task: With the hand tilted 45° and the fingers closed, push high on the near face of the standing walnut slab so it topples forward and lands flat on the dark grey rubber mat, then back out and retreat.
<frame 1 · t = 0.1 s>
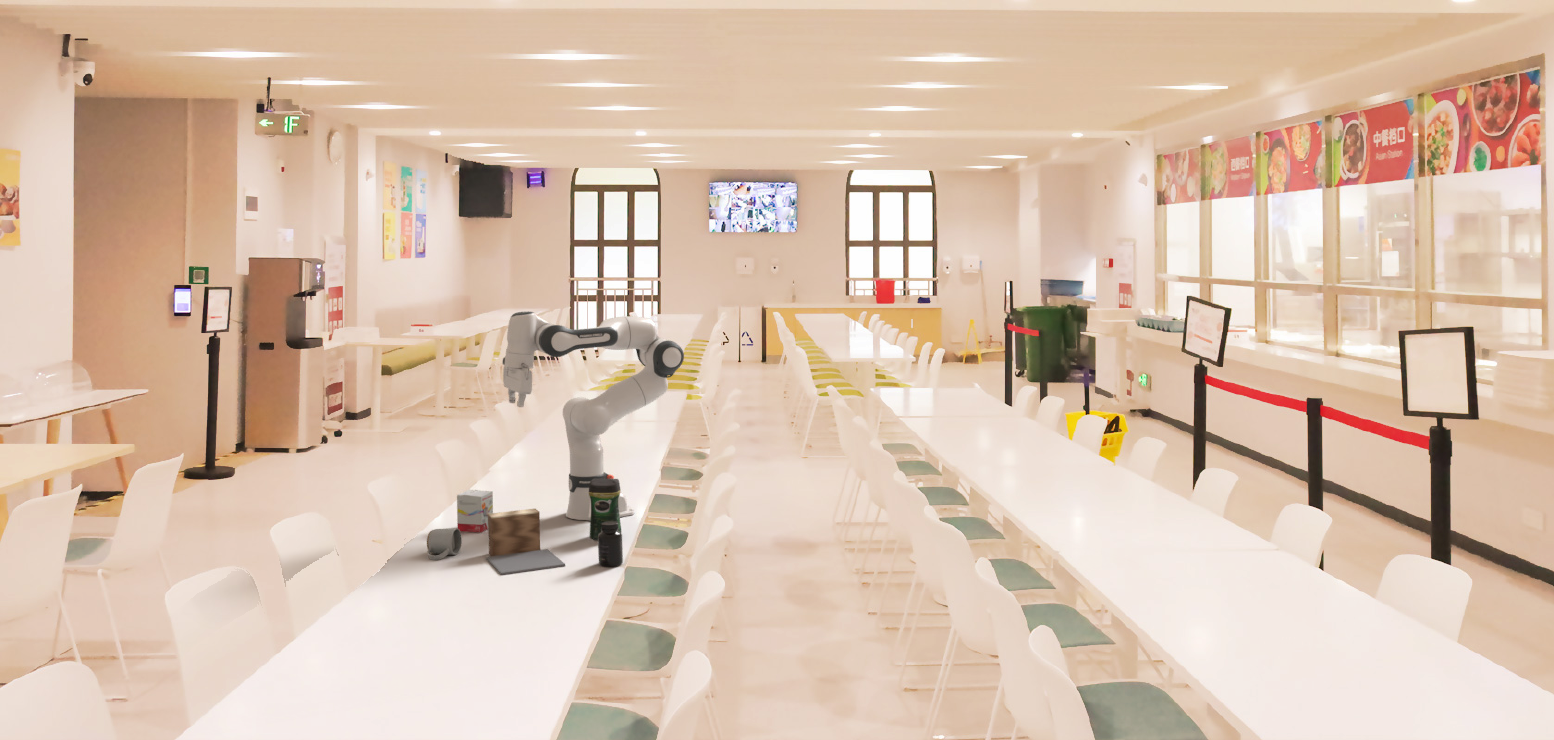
hand: (516, 405, 346), 39 cm above the table, tool pointing down, fingers open, 8 cm apart
ceramic mug: (443, 556, 315), on the table
coffee jar: (605, 538, 335), on the table
ink box: (475, 529, 344), on the table
supplement bottle: (610, 564, 307), on the table
walnut slab: (514, 552, 318), on the table
mat: (525, 562, 308), on the table
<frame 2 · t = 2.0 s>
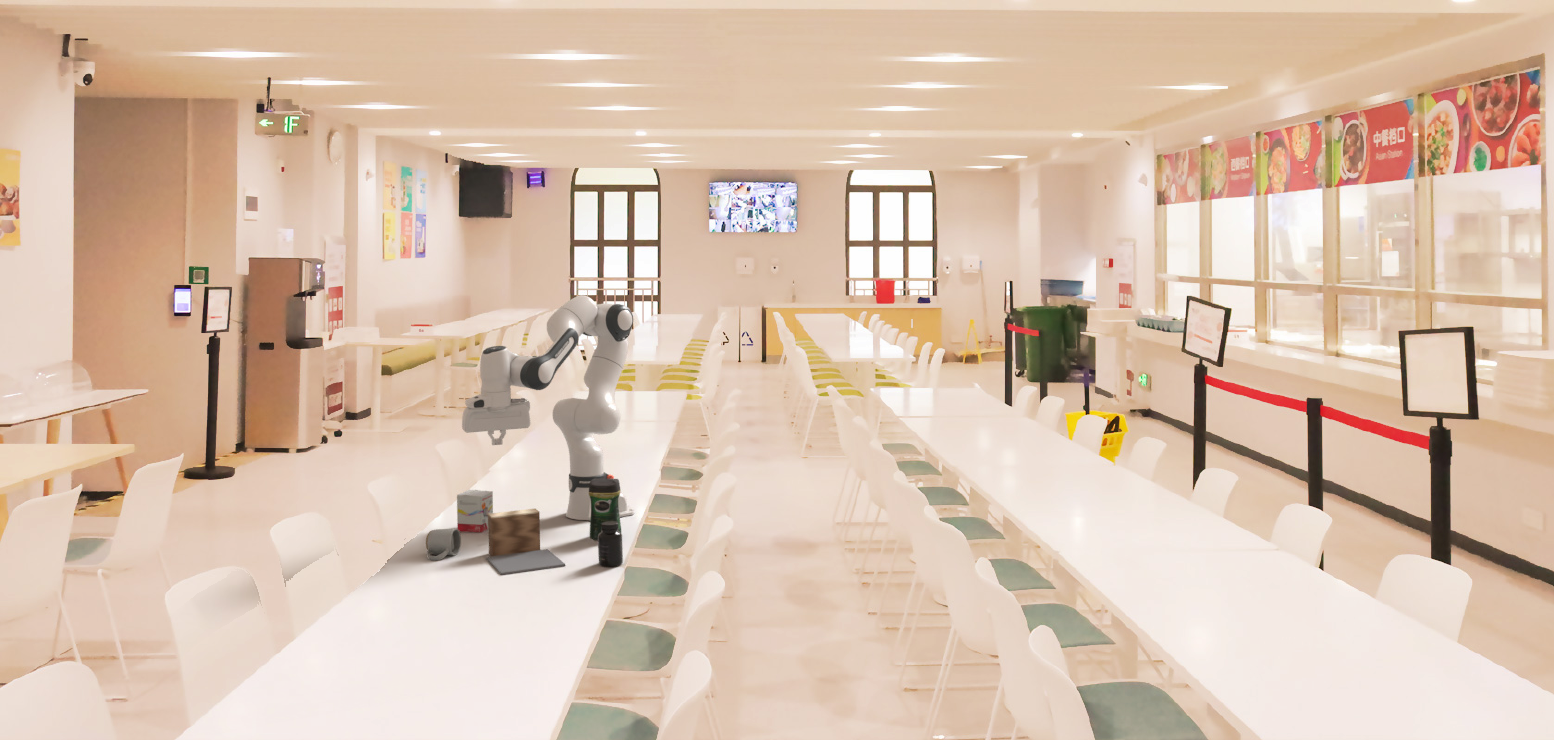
hand: (497, 444, 331), 29 cm above the table, tool pointing down, fingers closed
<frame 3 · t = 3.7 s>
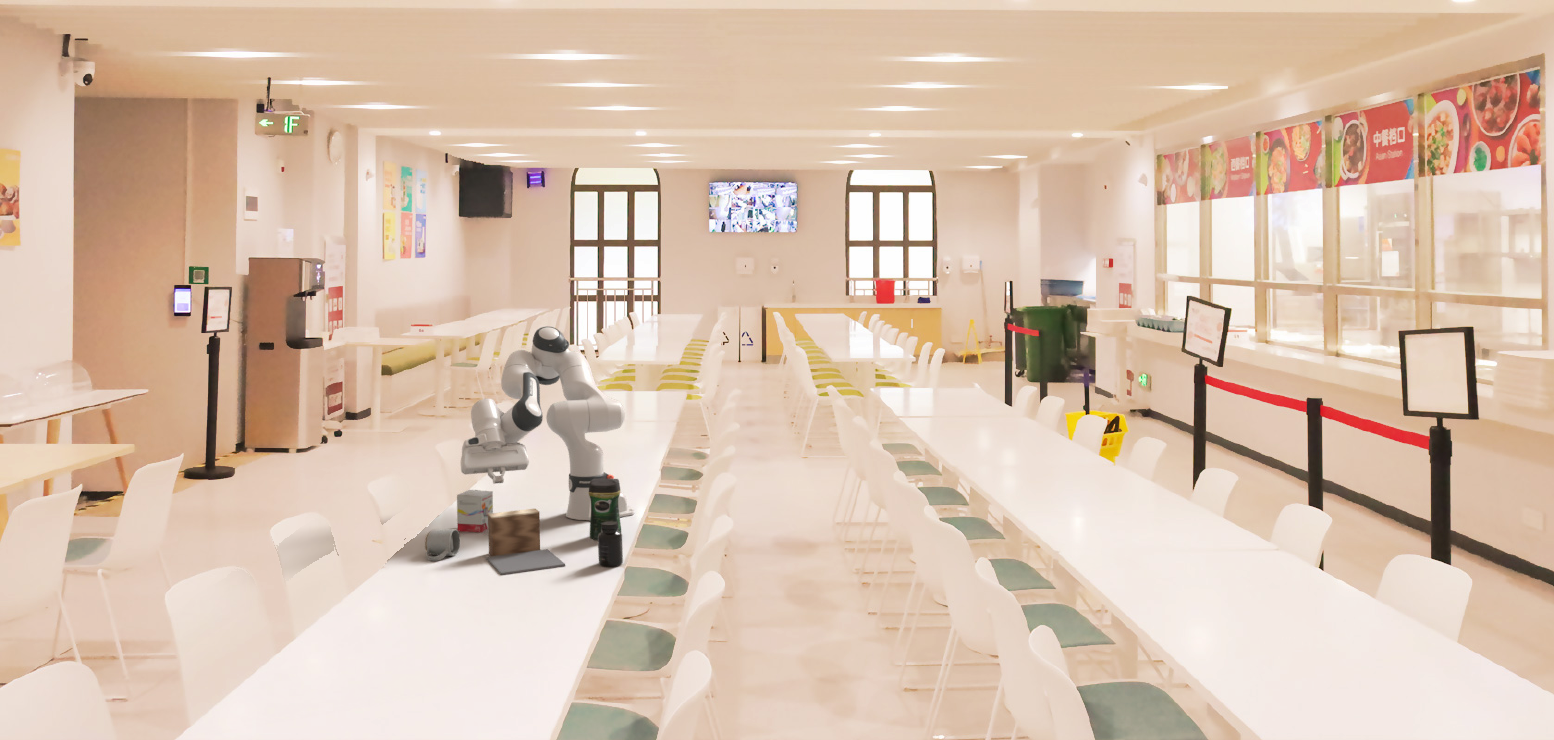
hand: (498, 482, 329), 18 cm above the table, tool tilted 45°, fingers closed
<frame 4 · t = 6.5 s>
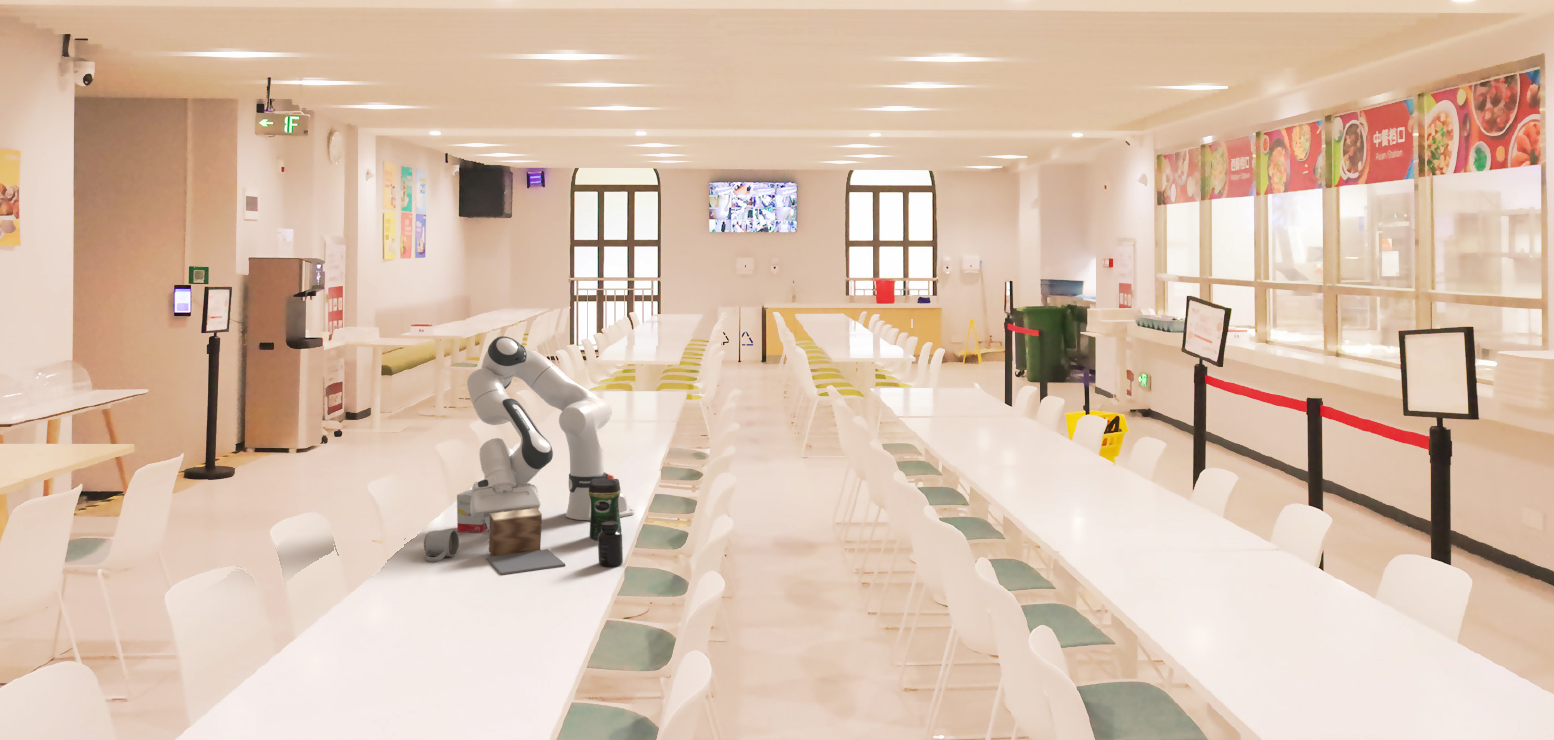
hand: (510, 525, 318), 8 cm above the table, tool tilted 45°, fingers closed
walnut slab: (514, 551, 318), on the table, tilted 11°
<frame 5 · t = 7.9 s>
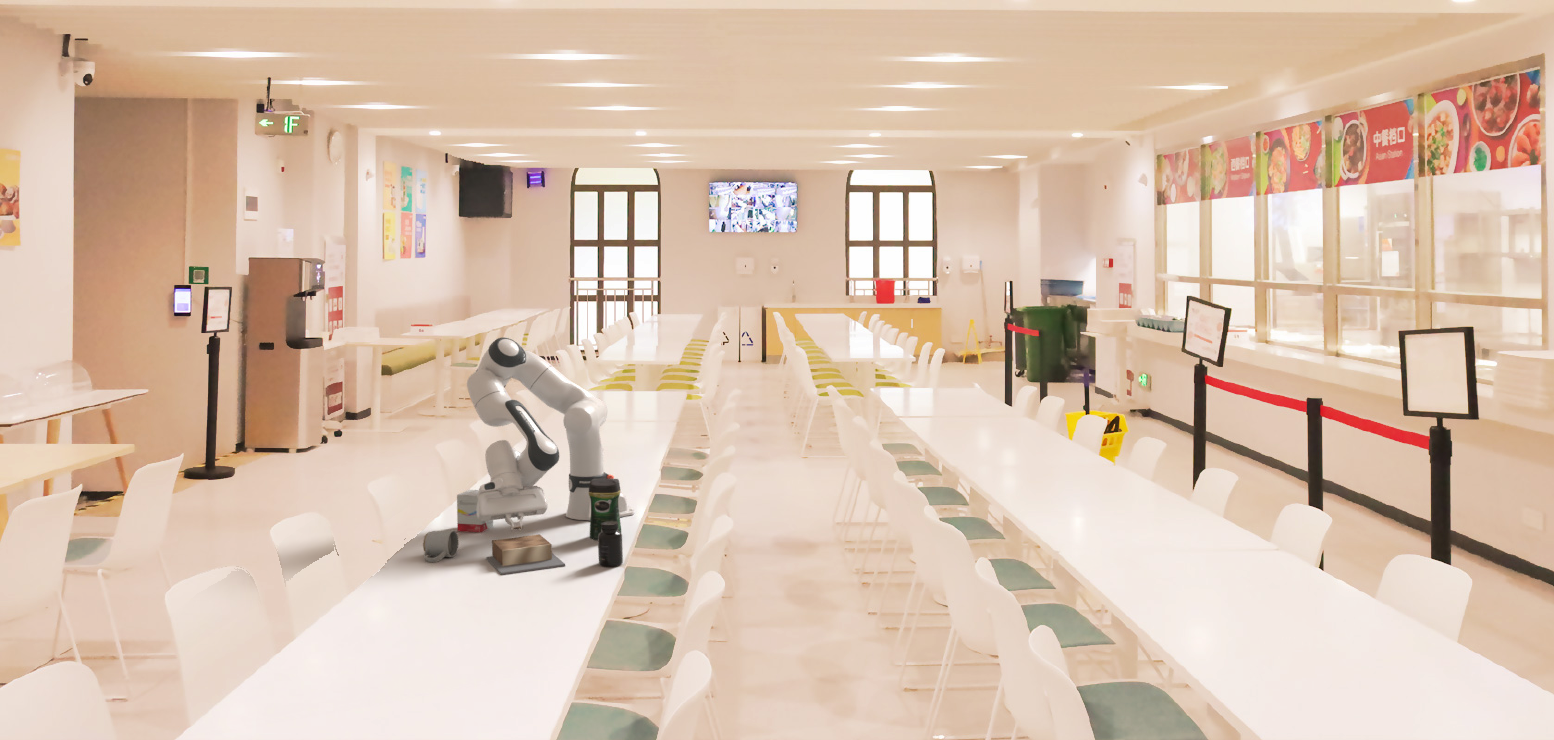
hand: (517, 528, 315), 8 cm above the table, tool tilted 45°, fingers closed
walnut slab: (516, 544, 316), point 3 cm above the table, tilted 90°, touching mat
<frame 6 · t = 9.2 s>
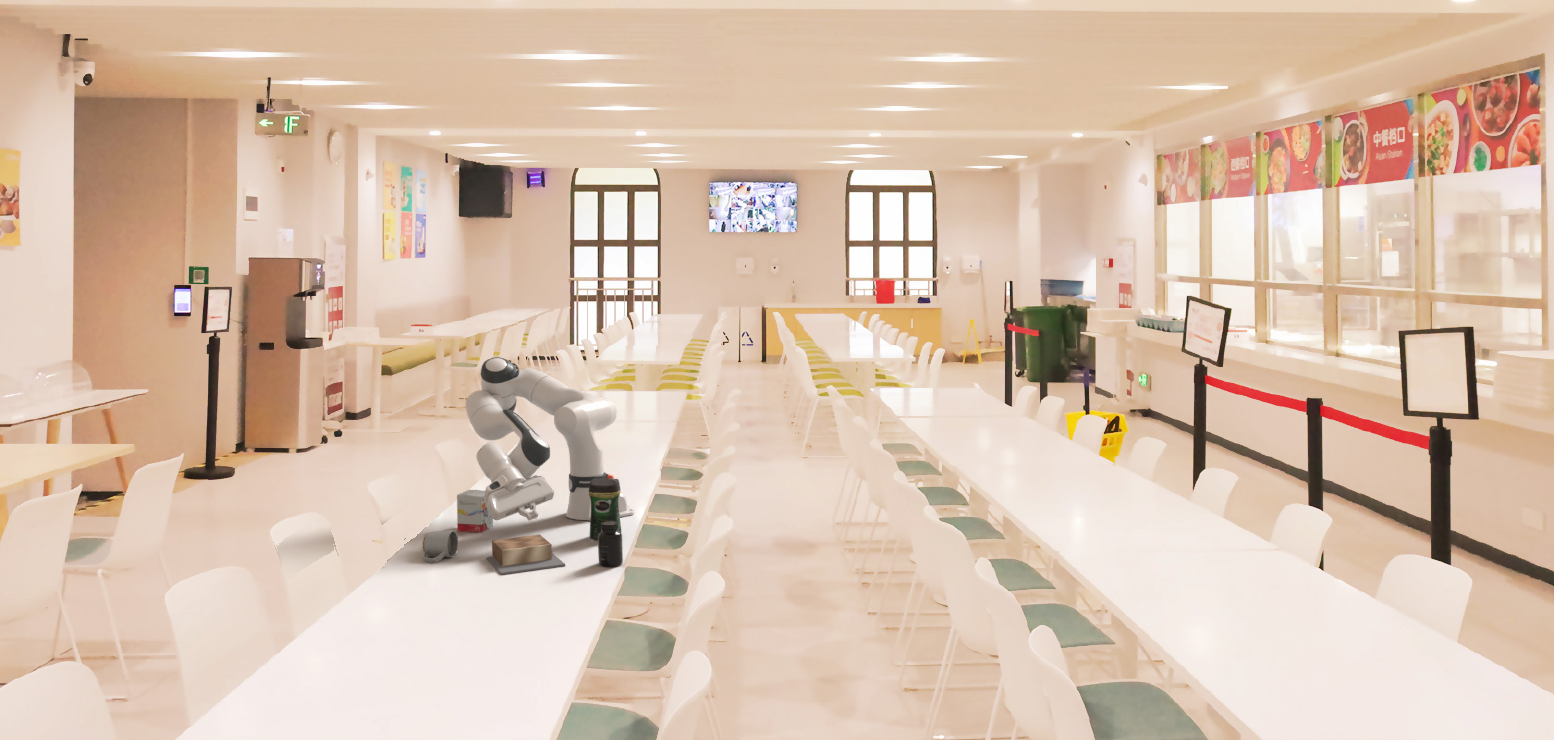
hand: (533, 517, 320), 10 cm above the table, tool tilted 55°, fingers closed
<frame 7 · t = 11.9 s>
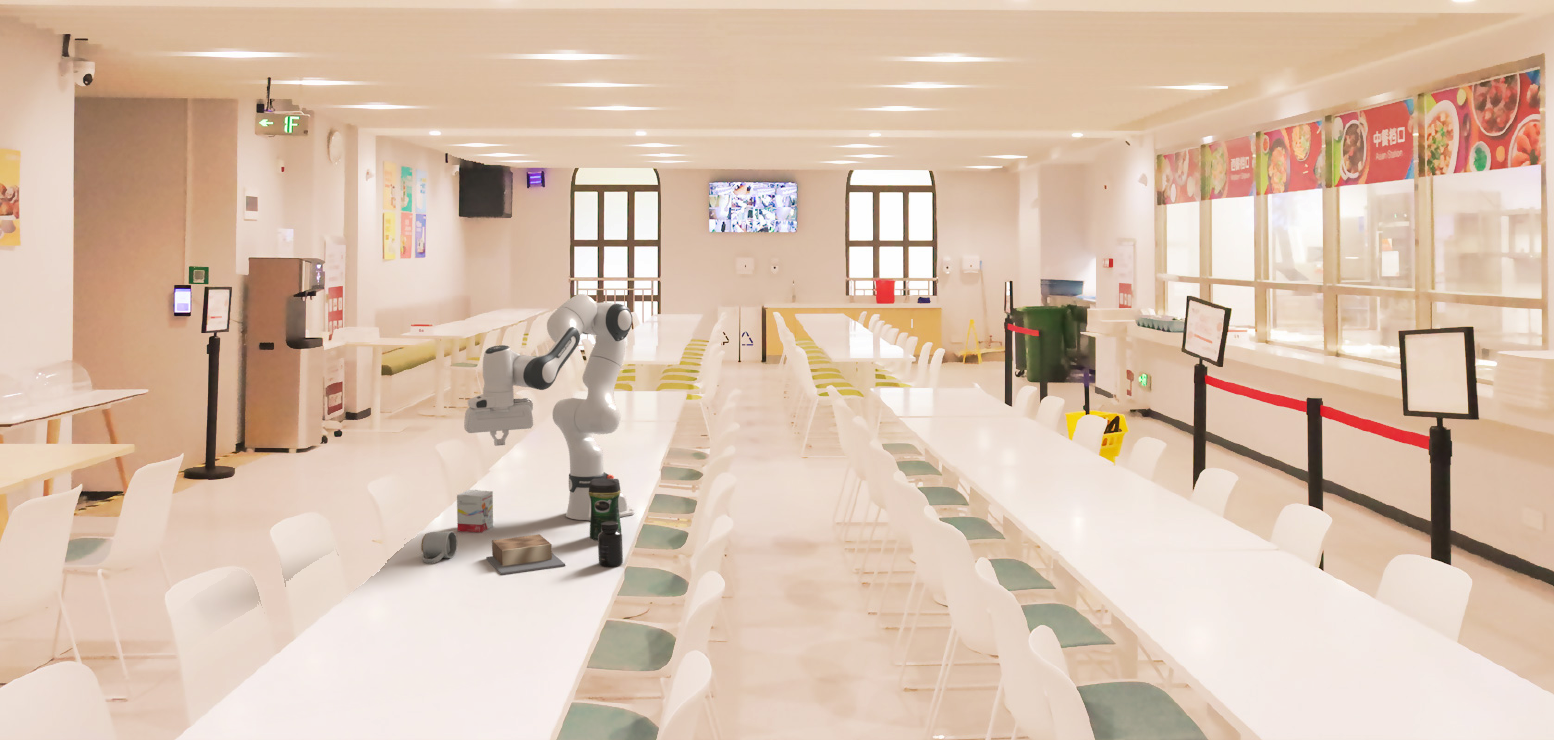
hand: (499, 445, 328), 30 cm above the table, tool pointing down, fingers closed
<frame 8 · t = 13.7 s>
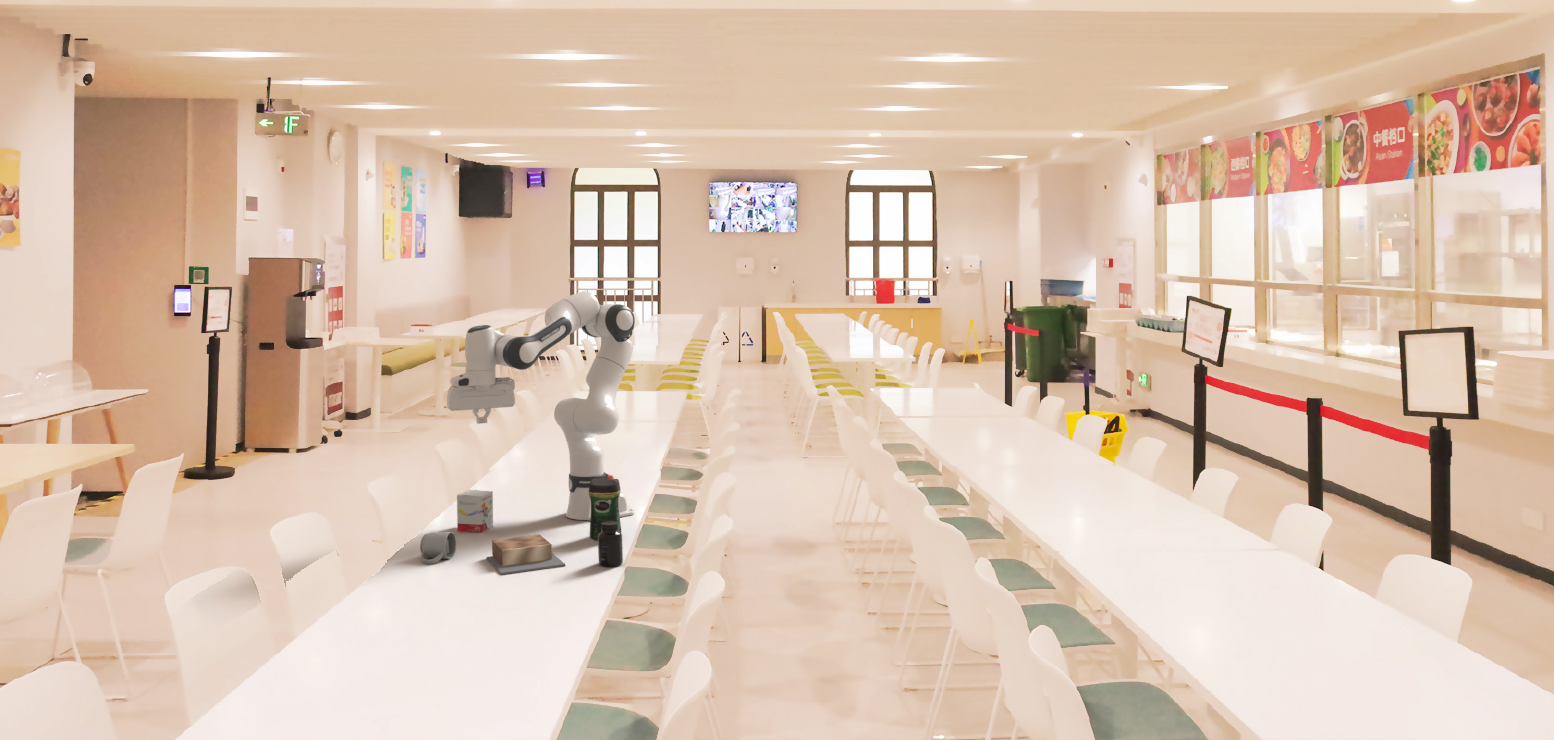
hand: (481, 423, 334), 35 cm above the table, tool pointing down, fingers closed
at the end: walnut slab tilted 90°; walnut slab inside the target area (6.6 cm from its centre), point 2.8 cm above the table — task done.
